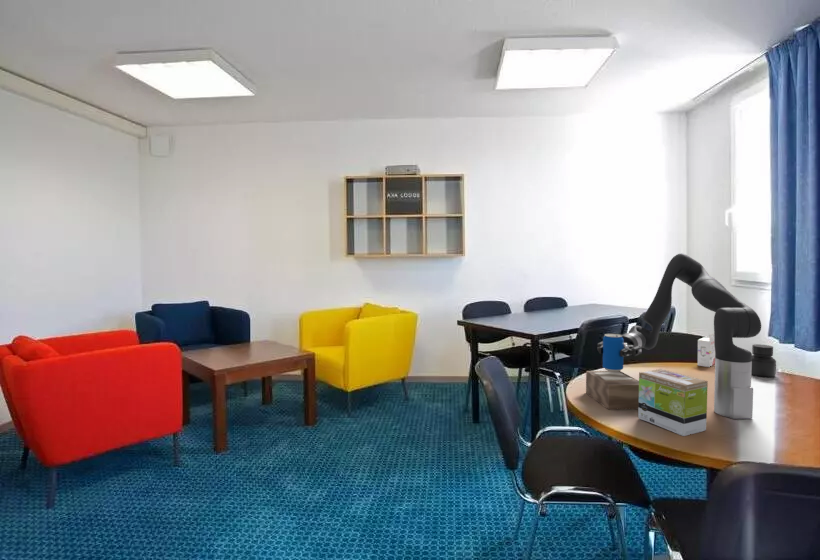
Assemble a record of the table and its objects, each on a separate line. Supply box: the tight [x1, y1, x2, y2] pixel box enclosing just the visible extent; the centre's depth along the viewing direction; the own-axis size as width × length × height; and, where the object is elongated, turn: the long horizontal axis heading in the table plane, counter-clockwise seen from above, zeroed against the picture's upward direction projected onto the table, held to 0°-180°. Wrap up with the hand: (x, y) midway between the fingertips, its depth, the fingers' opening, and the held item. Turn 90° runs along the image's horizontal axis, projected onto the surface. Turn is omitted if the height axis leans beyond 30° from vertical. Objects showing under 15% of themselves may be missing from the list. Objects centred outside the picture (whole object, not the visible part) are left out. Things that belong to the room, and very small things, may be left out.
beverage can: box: [602, 333, 624, 372], centre depth 157 cm, size 6×6×12 cm
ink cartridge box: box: [697, 331, 716, 368], centre depth 205 cm, size 9×5×15 cm, turn 132°
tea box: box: [637, 368, 709, 437], centre depth 134 cm, size 15×10×15 cm
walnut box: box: [585, 370, 639, 410], centre depth 157 cm, size 18×12×8 cm, turn 1°
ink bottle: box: [751, 343, 777, 378], centre depth 187 cm, size 10×9×12 cm
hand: (610, 352), depth 156 cm, fingers closed on beverage can, 6 cm apart
